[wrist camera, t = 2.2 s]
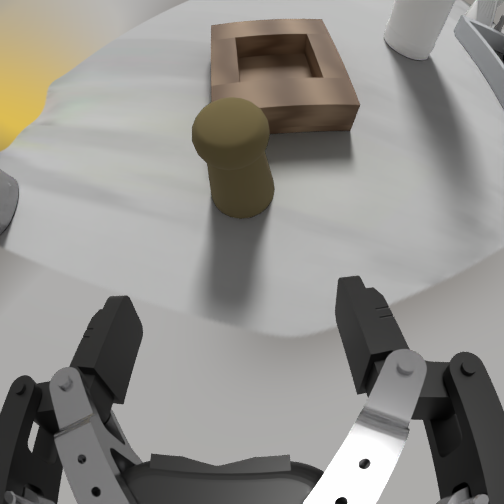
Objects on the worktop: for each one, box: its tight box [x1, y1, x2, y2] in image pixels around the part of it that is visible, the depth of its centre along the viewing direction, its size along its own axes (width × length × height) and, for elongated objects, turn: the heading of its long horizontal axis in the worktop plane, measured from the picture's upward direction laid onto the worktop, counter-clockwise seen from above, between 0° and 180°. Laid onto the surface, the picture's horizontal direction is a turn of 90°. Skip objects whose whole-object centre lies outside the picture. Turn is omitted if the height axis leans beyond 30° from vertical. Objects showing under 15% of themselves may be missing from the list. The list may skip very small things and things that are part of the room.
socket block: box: [211, 19, 360, 134], centre depth 28 cm, size 14×16×4 cm
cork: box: [192, 97, 275, 219], centre depth 22 cm, size 6×6×11 cm
